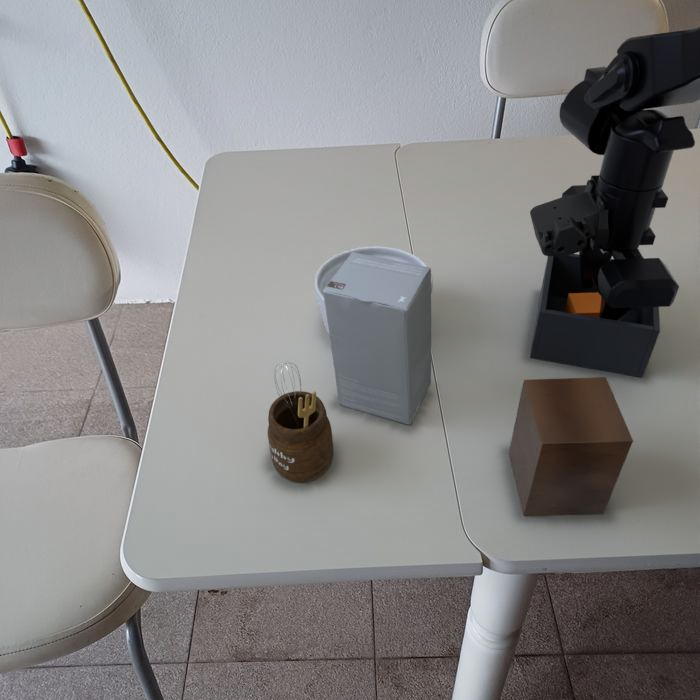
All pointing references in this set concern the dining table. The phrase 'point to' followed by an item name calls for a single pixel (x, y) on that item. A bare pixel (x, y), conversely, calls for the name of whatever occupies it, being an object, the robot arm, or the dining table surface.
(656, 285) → the robot arm
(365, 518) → the dining table surface
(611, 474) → the stand
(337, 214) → the dining table surface
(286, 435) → the utensil holder
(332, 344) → the cosmetic box
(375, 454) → the dining table surface
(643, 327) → the open box
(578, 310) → the orange block
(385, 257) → the ramekin
